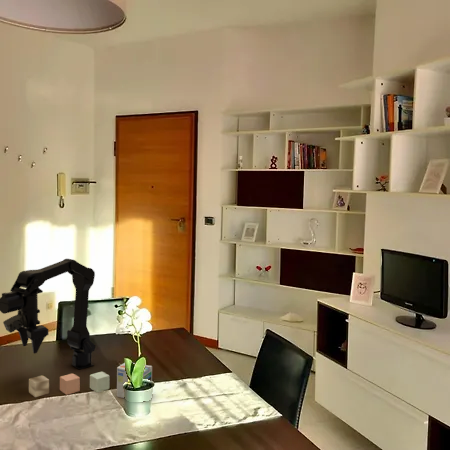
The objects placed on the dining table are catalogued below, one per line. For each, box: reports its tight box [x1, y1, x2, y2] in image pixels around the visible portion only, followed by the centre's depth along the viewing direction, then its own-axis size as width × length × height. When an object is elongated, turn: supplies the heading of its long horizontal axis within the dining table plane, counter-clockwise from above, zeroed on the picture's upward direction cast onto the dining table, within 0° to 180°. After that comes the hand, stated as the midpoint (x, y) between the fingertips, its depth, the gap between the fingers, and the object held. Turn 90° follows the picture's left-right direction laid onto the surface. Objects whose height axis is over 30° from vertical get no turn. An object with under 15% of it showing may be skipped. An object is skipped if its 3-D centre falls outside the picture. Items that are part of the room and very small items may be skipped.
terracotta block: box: [59, 373, 81, 396], centre depth 187 cm, size 5×5×5 cm
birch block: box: [28, 375, 50, 398], centre depth 184 cm, size 5×5×5 cm
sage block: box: [89, 371, 110, 393], centre depth 189 cm, size 5×5×5 cm
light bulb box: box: [116, 362, 153, 399], centre depth 184 cm, size 11×7×11 cm, turn 71°
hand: (29, 349), depth 188 cm, fingers open, 9 cm apart
